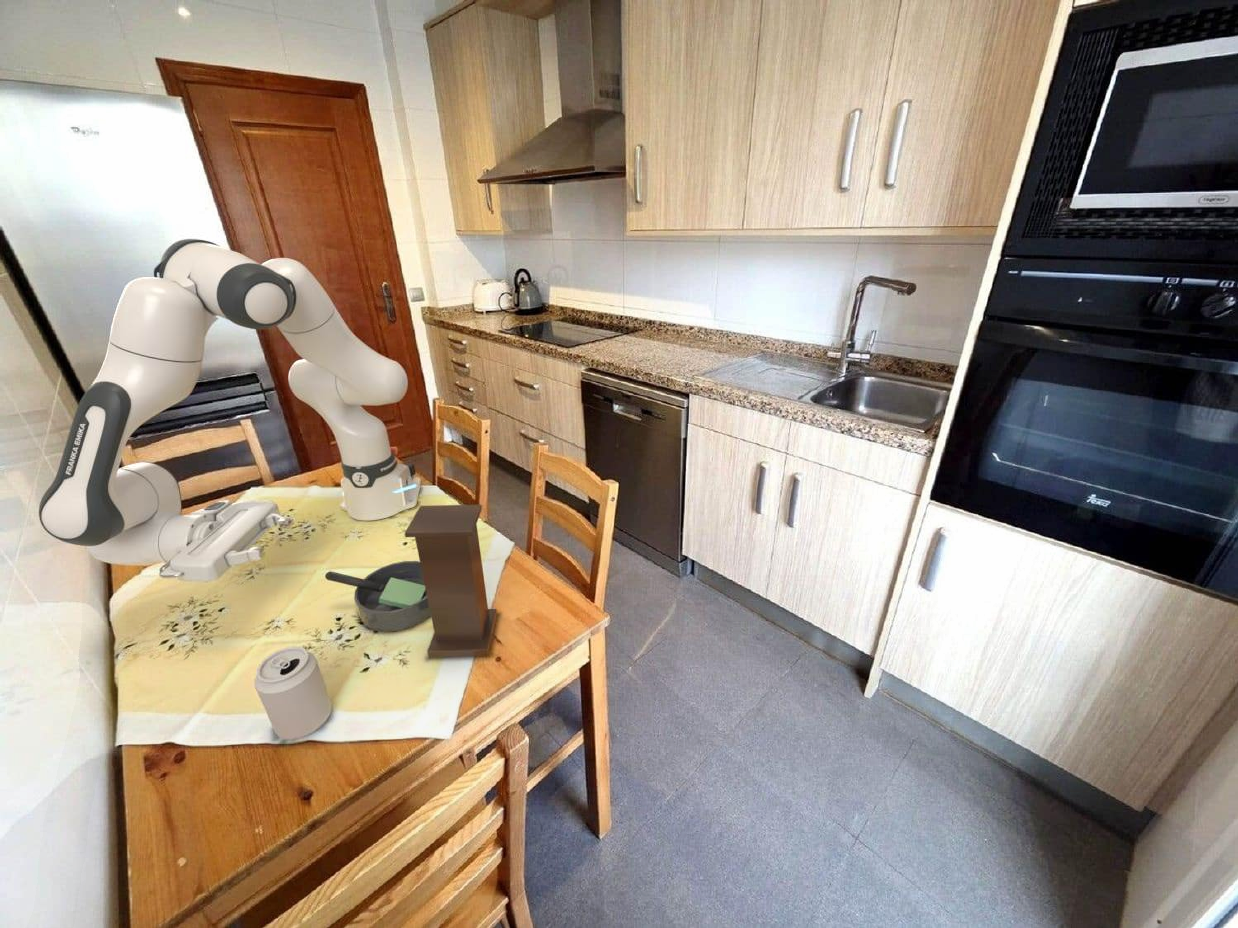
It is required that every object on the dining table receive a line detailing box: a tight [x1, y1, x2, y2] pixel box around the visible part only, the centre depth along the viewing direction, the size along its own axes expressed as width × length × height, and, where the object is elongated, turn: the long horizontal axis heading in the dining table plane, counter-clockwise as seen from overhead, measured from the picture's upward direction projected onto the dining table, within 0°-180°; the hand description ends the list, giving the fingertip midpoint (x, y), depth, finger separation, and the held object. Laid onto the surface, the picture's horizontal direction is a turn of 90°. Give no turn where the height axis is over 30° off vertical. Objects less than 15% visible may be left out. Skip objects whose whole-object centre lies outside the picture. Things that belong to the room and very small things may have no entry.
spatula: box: [324, 571, 426, 608], centre depth 95 cm, size 18×6×2 cm, turn 93°
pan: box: [353, 560, 431, 633], centre depth 97 cm, size 15×15×4 cm
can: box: [254, 645, 333, 740], centre depth 72 cm, size 8×8×12 cm
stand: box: [404, 504, 498, 659], centre depth 85 cm, size 10×10×25 cm
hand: (277, 537), depth 90 cm, fingers open, 8 cm apart
